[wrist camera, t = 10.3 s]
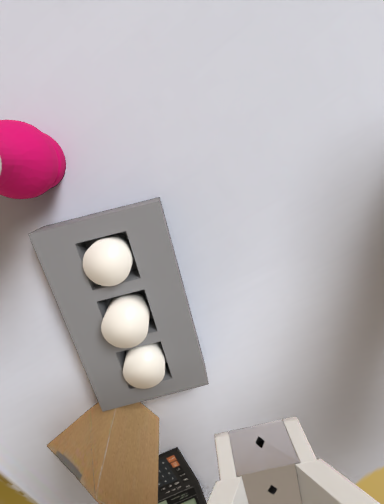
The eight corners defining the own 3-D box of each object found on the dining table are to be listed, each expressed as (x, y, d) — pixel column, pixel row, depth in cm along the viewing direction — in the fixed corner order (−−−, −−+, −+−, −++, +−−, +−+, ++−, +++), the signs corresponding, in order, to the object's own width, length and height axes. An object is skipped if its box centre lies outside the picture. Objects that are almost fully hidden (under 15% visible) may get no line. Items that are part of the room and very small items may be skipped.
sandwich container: (43, 444, 44) (-16, 580, 29) (119, 383, 42) (94, 497, 28) (87, 474, 46) (51, 614, 32) (160, 418, 44) (157, 539, 30)
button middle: (143, 286, 35) (140, 302, 31) (155, 322, 37) (153, 341, 33) (102, 296, 35) (94, 314, 31) (115, 332, 37) (109, 353, 33)
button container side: (159, 329, 39) (158, 348, 35) (169, 361, 40) (169, 382, 36) (122, 339, 39) (117, 359, 35) (133, 370, 40) (129, 393, 36)
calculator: (177, 445, 46) (177, 464, 43) (206, 492, 49) (209, 513, 47) (122, 468, 47) (119, 488, 44) (155, 513, 50) (155, 535, 47)
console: (159, 197, 35) (158, 200, 31) (204, 364, 42) (208, 384, 38) (38, 227, 35) (22, 235, 31) (104, 390, 42) (98, 412, 38)
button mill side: (127, 228, 35) (122, 236, 31) (140, 267, 36) (136, 279, 32) (86, 238, 35) (75, 248, 31) (100, 277, 36) (91, 291, 32)
